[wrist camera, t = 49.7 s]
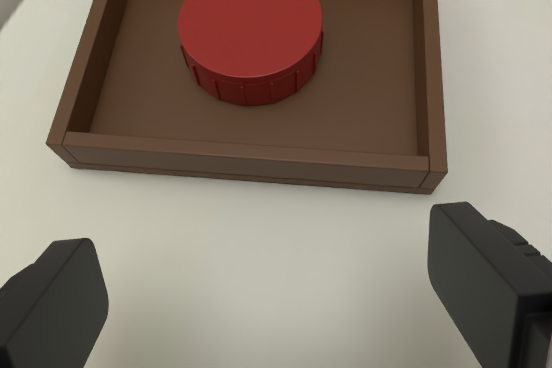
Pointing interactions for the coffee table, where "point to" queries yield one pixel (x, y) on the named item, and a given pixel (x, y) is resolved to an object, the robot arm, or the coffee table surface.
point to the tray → (268, 117)
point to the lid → (251, 47)
